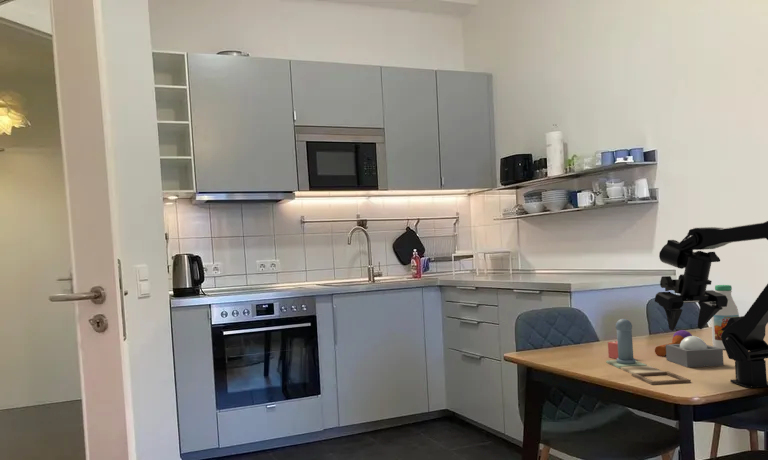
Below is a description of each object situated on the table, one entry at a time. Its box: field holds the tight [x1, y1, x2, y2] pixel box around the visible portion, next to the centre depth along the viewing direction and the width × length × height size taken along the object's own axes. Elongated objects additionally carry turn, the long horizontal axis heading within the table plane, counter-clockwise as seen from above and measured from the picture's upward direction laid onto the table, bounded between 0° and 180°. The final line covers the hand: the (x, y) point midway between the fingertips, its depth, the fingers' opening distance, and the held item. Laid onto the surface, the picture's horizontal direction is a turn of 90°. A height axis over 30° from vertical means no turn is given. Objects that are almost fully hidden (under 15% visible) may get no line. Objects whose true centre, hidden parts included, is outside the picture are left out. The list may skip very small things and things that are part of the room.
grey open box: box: [665, 343, 725, 368], centre depth 163 cm, size 10×10×4 cm
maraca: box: [654, 329, 693, 357], centre depth 180 cm, size 6×6×20 cm
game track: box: [605, 359, 691, 386], centre depth 154 cm, size 27×10×1 cm, turn 4°
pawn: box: [615, 318, 637, 364], centre depth 164 cm, size 5×5×12 cm
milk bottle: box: [710, 284, 740, 350], centre depth 182 cm, size 8×8×20 cm
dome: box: [680, 335, 708, 350], centre depth 163 cm, size 7×7×7 cm
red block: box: [607, 340, 618, 360], centre depth 174 cm, size 4×4×5 cm
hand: (685, 329), depth 154 cm, fingers open, 9 cm apart
